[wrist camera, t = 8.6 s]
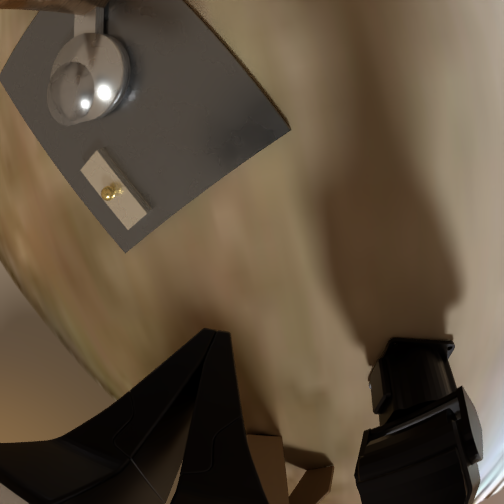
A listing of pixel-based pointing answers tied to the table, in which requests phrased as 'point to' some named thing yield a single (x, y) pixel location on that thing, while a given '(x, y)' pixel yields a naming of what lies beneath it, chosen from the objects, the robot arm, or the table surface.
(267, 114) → the stand plate
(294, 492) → the photo frame
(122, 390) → the table surface
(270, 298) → the table surface
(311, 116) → the table surface
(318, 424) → the table surface
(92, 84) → the brown cylinder with ball
